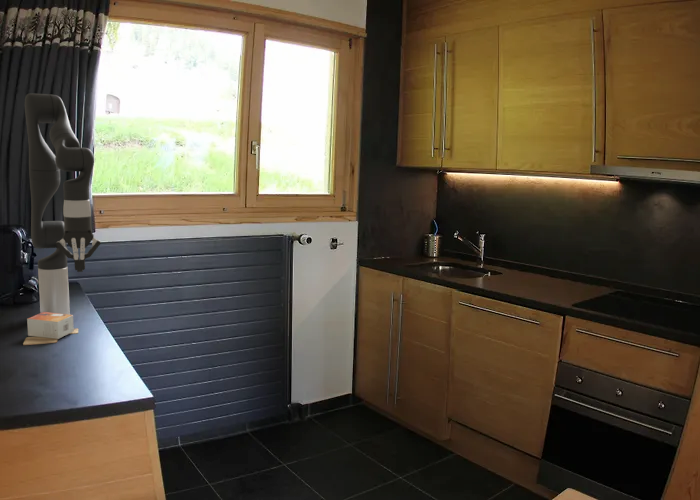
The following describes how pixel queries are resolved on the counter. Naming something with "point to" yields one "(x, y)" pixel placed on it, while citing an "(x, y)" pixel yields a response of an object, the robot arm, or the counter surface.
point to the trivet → (38, 340)
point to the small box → (50, 325)
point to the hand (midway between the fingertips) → (79, 271)
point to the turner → (74, 331)
